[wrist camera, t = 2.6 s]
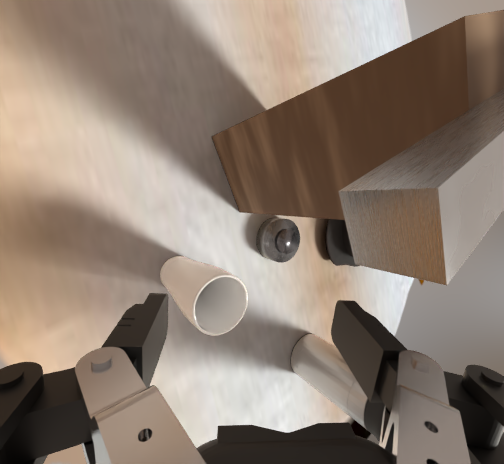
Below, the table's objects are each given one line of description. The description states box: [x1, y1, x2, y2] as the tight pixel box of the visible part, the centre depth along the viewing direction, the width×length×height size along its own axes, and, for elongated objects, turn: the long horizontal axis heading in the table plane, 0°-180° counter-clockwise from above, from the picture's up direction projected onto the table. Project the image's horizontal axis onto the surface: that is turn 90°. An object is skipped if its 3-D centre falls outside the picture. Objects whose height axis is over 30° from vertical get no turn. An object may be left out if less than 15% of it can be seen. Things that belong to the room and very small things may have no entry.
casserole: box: [326, 219, 360, 266], centre depth 60 cm, size 25×19×8 cm
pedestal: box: [212, 10, 504, 220], centre depth 32 cm, size 13×13×32 cm
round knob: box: [257, 218, 300, 262], centre depth 48 cm, size 8×8×4 cm
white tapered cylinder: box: [160, 256, 248, 336], centre depth 33 cm, size 7×7×15 cm
